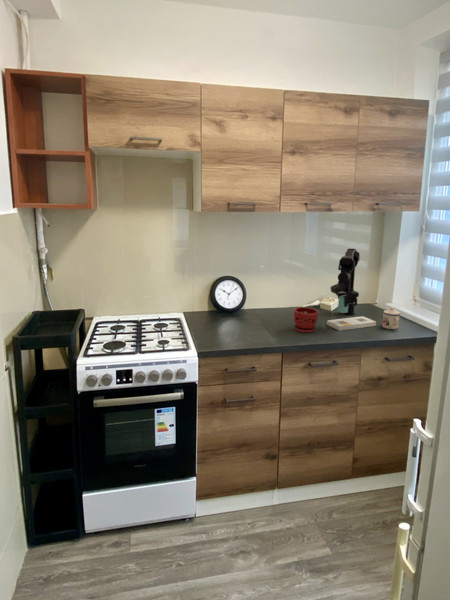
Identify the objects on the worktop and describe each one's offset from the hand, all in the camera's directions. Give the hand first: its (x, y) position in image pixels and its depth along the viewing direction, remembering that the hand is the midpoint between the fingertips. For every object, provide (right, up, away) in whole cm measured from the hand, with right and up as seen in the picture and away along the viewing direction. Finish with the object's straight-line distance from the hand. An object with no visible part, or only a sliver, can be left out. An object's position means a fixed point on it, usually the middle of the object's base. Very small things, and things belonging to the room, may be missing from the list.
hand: (343, 305), depth 242 cm
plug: (0, -3, +1) cm, 4 cm away
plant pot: (-23, -14, -4) cm, 27 cm away
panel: (+6, -11, +6) cm, 14 cm away
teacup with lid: (+28, -13, +2) cm, 31 cm away
